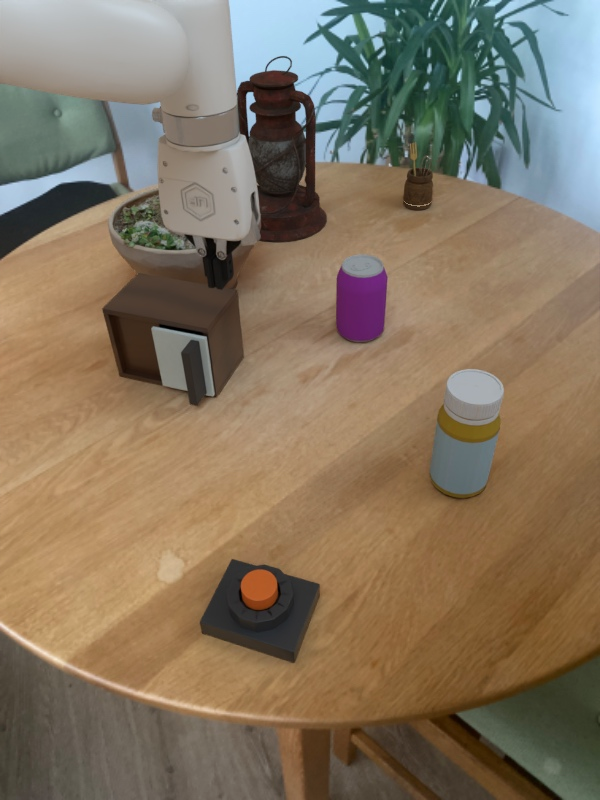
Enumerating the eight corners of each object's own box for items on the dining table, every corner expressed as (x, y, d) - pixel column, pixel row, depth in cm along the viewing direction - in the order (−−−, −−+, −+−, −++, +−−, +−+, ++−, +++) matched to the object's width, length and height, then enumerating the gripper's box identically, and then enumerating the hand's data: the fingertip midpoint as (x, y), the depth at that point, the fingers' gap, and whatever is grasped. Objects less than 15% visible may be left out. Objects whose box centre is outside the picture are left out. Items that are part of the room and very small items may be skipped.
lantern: (215, 227, 136) (196, 67, 117) (269, 193, 148) (260, 42, 128) (293, 251, 128) (287, 83, 108) (344, 212, 140) (347, 55, 120)
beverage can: (372, 313, 111) (376, 248, 103) (391, 339, 106) (397, 272, 98) (329, 322, 110) (329, 256, 102) (345, 349, 104) (347, 281, 96)
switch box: (201, 633, 68) (197, 612, 66) (233, 570, 74) (230, 548, 71) (294, 663, 66) (293, 642, 63) (320, 595, 71) (319, 573, 69)
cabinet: (216, 397, 96) (207, 328, 88) (119, 376, 100) (101, 308, 93) (244, 357, 103) (237, 289, 95) (151, 338, 108) (138, 272, 100)
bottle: (441, 452, 87) (456, 359, 77) (494, 471, 84) (516, 378, 74) (419, 487, 82) (432, 394, 73) (474, 509, 80) (495, 415, 70)
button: (236, 604, 67) (234, 594, 66) (250, 575, 69) (249, 565, 68) (270, 614, 66) (269, 605, 65) (283, 584, 68) (282, 574, 67)
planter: (188, 237, 133) (177, 163, 123) (292, 272, 122) (289, 193, 112) (90, 296, 117) (69, 217, 108) (200, 342, 106) (187, 258, 97)
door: (203, 410, 93) (194, 352, 86) (152, 398, 95) (139, 341, 88) (214, 394, 95) (206, 336, 89) (164, 383, 97) (153, 326, 91)
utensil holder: (414, 213, 139) (419, 155, 131) (396, 202, 143) (400, 145, 135) (437, 206, 141) (443, 149, 133) (419, 196, 145) (424, 139, 137)
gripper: (117, 130, 67) (148, 289, 79) (256, 145, 63) (267, 310, 75) (153, 106, 72) (178, 258, 84) (284, 118, 68) (290, 276, 80)
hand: (220, 282), depth 80 cm, fingers closed
